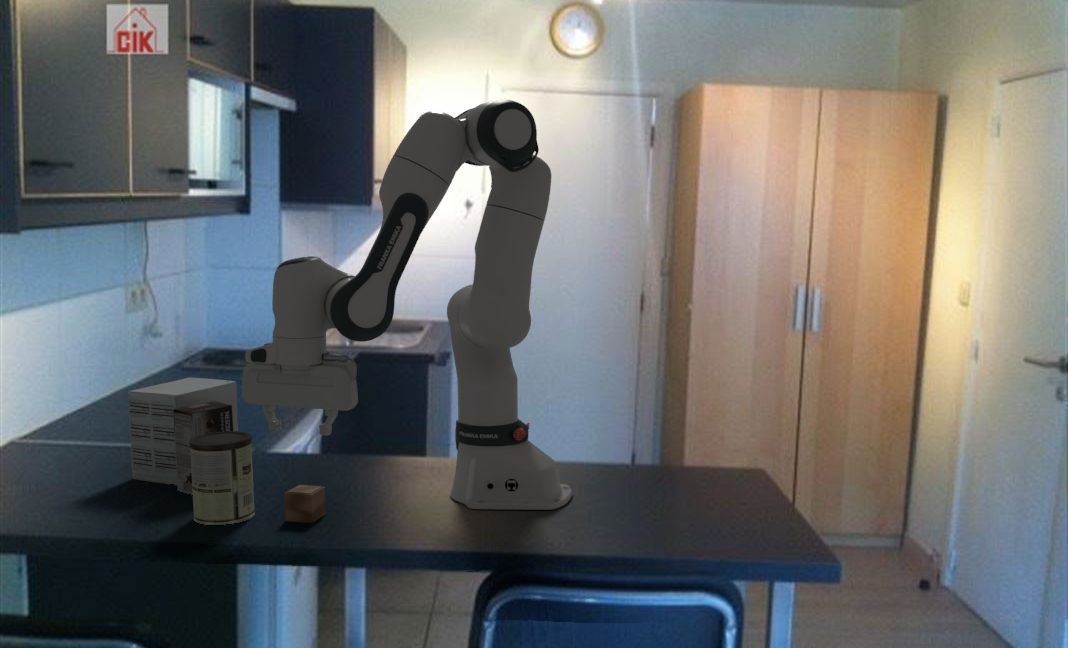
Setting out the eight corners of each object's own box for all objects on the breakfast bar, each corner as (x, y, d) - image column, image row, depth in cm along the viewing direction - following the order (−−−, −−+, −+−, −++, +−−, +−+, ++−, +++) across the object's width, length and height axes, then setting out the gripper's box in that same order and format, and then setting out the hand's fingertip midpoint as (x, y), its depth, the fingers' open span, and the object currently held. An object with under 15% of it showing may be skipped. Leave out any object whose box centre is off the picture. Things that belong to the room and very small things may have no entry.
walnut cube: (325, 514, 169) (324, 486, 168) (312, 523, 164) (311, 493, 163) (299, 512, 170) (298, 484, 169) (285, 521, 165) (284, 492, 165)
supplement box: (193, 459, 208) (189, 376, 206) (241, 465, 202) (238, 380, 200) (129, 479, 192) (124, 389, 190) (179, 486, 187) (175, 394, 185)
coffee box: (216, 481, 191) (212, 400, 189) (237, 486, 187) (233, 404, 185) (175, 491, 183) (171, 408, 181) (196, 497, 180) (192, 411, 178)
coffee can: (198, 510, 172) (194, 432, 170) (258, 506, 173) (255, 429, 172) (187, 528, 162) (183, 445, 160) (251, 524, 163) (248, 442, 162)
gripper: (364, 353, 164) (364, 433, 166) (255, 347, 169) (256, 425, 171) (348, 358, 158) (348, 440, 160) (236, 351, 163) (237, 432, 165)
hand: (300, 432), depth 165 cm, fingers open, 8 cm apart
